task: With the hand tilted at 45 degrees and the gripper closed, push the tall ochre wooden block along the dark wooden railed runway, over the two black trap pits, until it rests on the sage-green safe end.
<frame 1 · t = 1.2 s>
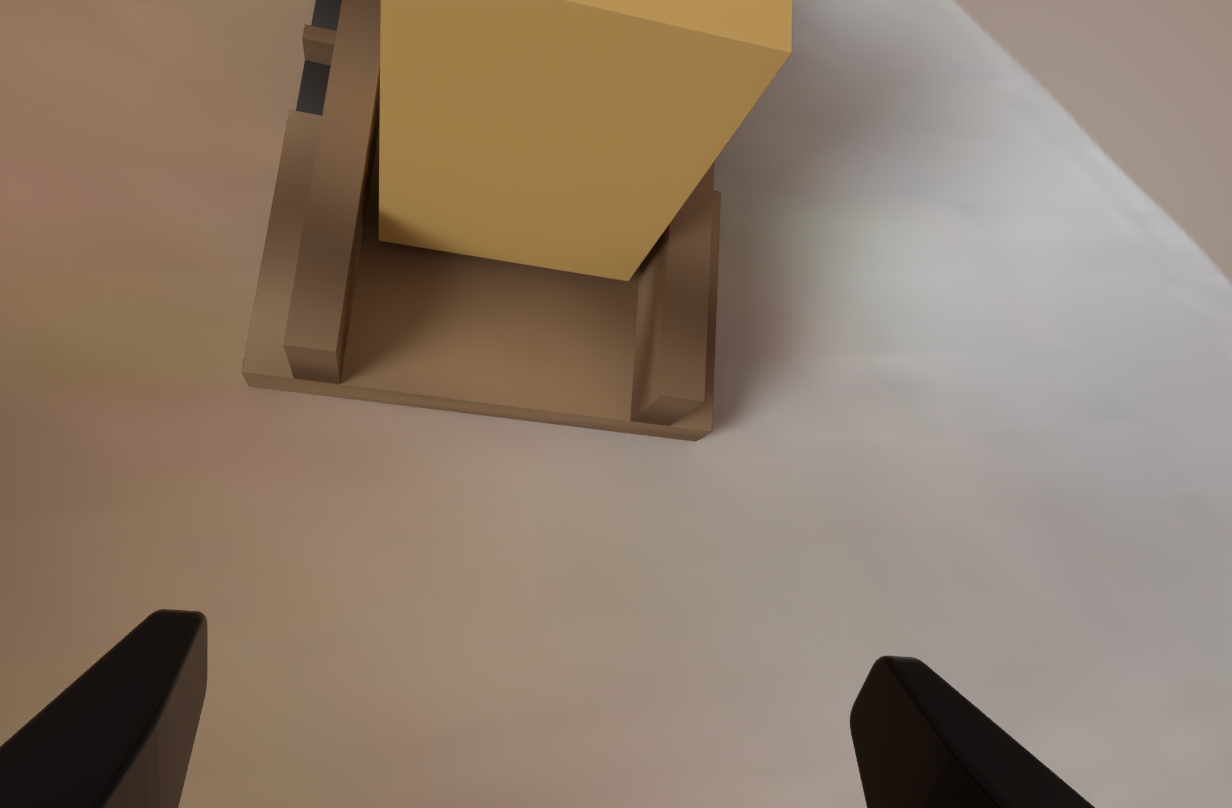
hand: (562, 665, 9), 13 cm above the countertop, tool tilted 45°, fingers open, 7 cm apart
block: (547, 98, 18), point 6 cm above the countertop, slide at 0.0 cm
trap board: (516, 112, 25), on the countertop
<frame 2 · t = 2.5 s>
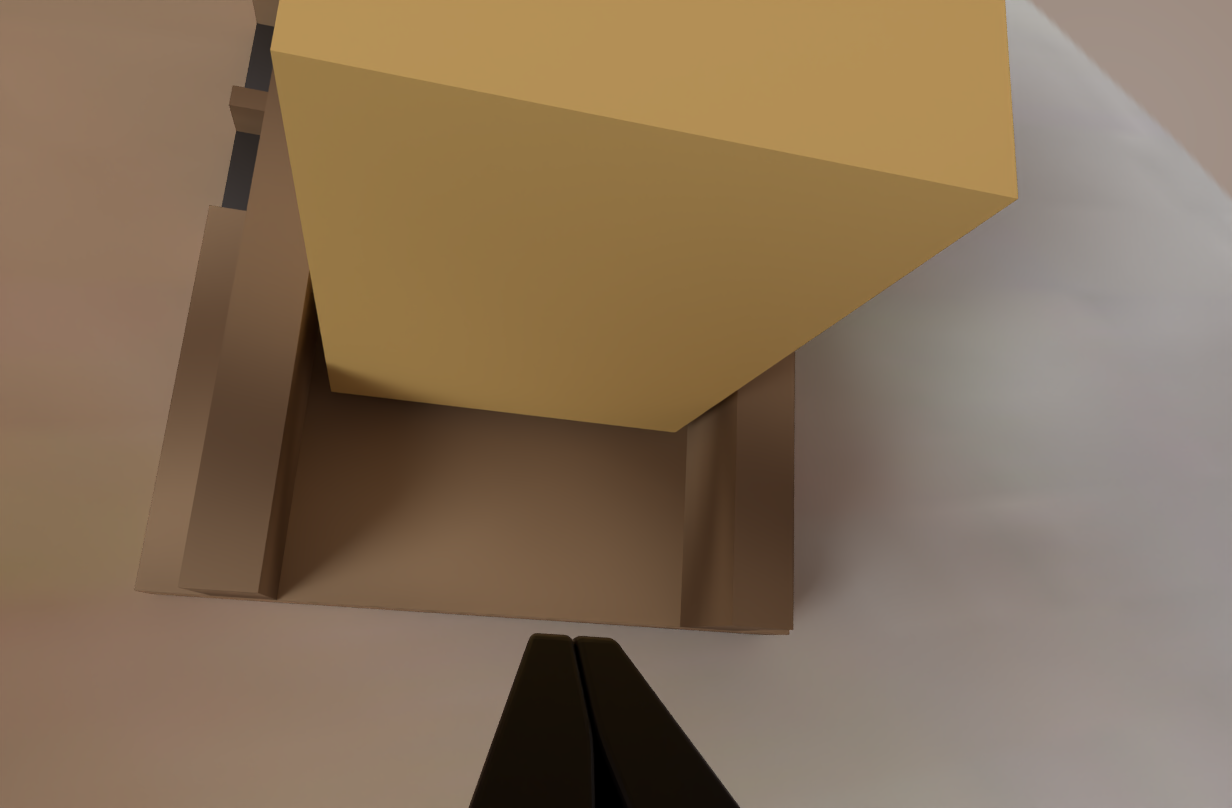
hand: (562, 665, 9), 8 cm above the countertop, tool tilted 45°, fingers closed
block: (571, 217, 12), point 6 cm above the countertop, slide at 0.0 cm
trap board: (520, 193, 19), on the countertop
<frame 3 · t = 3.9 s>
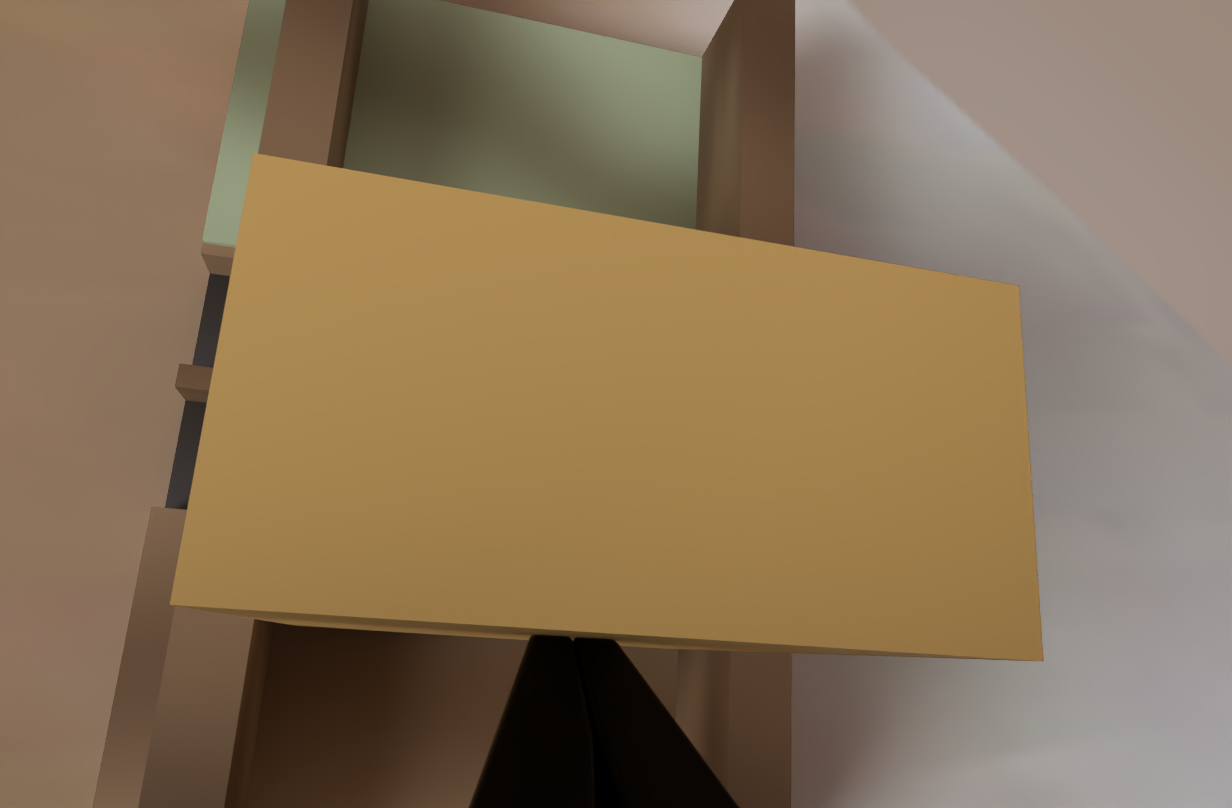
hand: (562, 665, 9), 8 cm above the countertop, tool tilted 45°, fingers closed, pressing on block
block: (547, 507, 11), point 6 cm above the countertop, slide at 1.5 cm, touching gripper
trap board: (496, 443, 17), on the countertop
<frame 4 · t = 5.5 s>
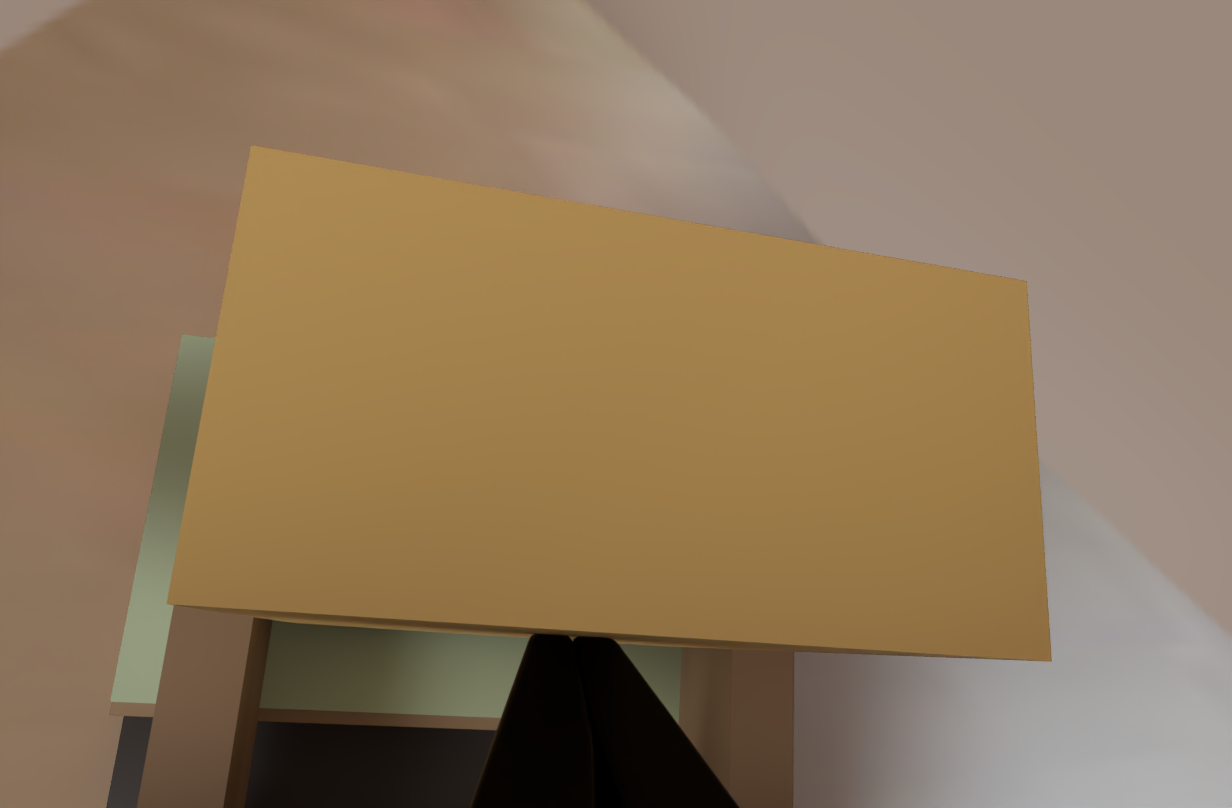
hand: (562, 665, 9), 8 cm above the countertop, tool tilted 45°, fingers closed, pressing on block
block: (549, 505, 11), point 6 cm above the countertop, slide at 9.1 cm, touching gripper
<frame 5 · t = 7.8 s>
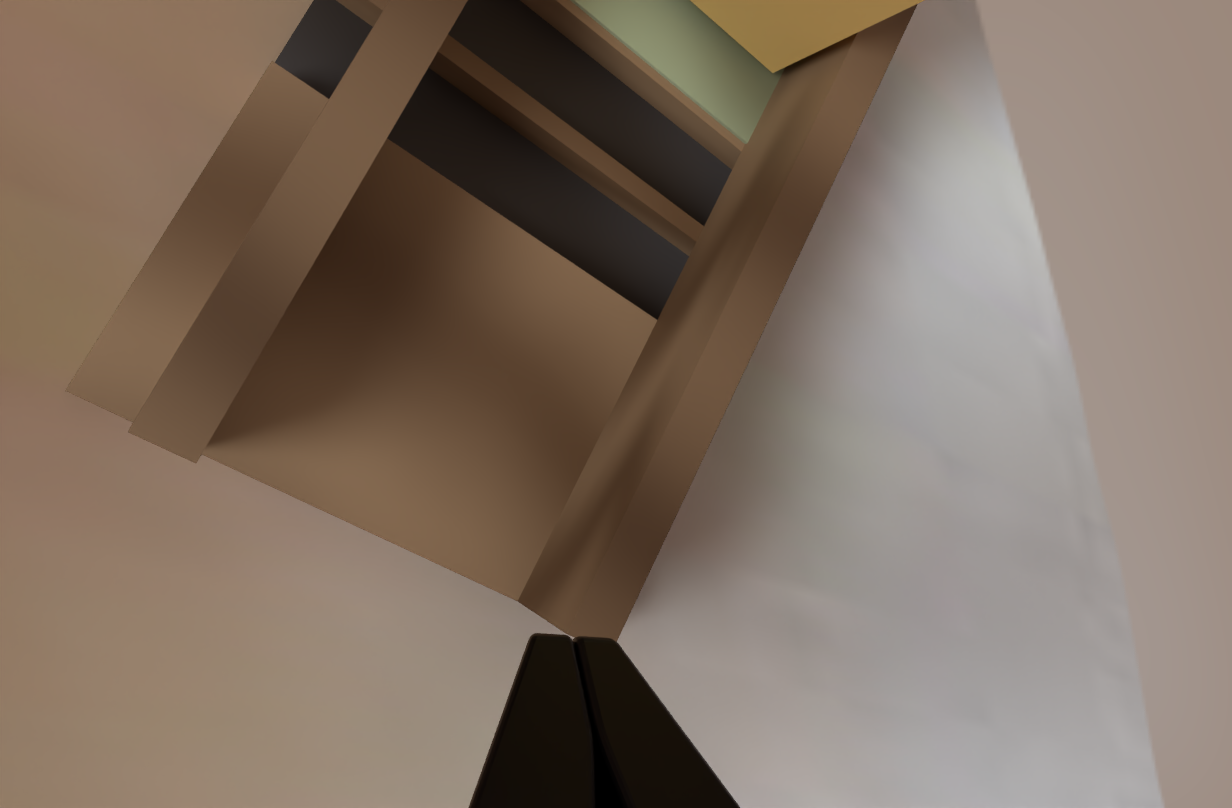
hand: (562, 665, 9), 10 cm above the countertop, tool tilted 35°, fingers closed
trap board: (548, 166, 20), on the countertop
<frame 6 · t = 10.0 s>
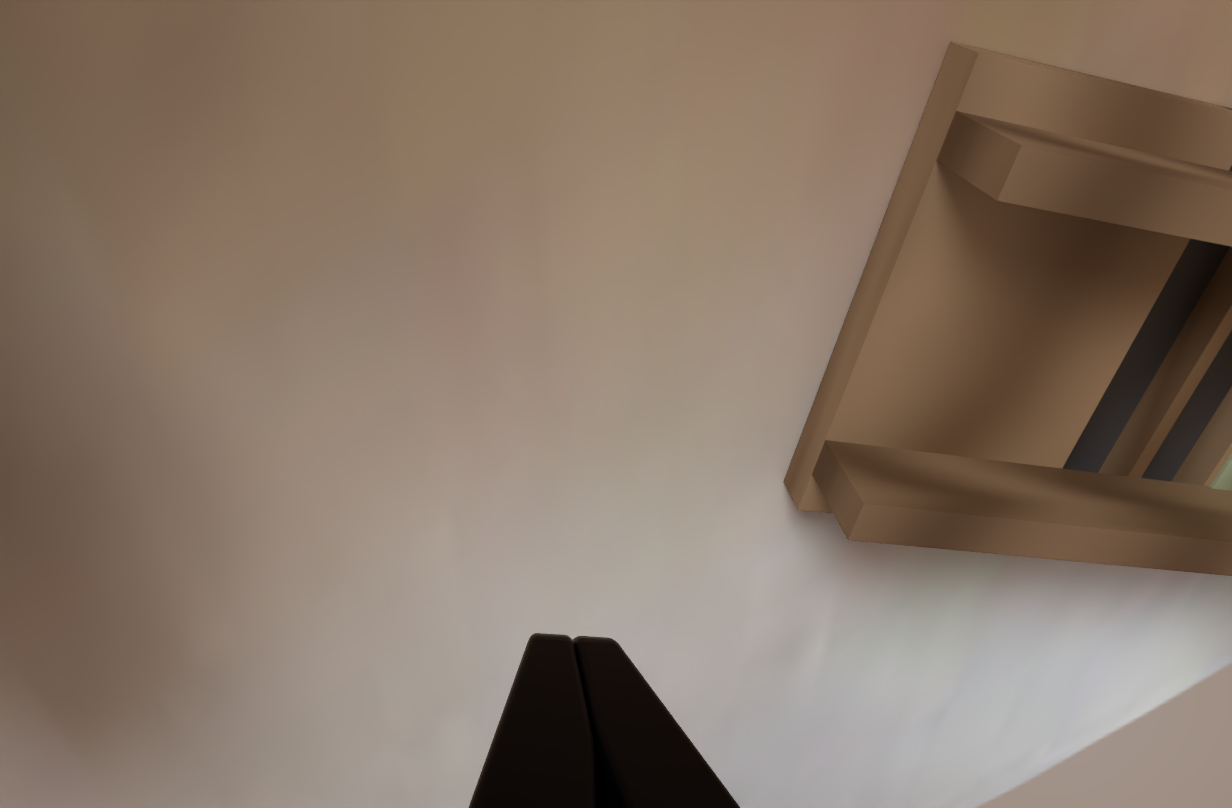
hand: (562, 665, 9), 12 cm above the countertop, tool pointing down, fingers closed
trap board: (1161, 339, 23), on the countertop
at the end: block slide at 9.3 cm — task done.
